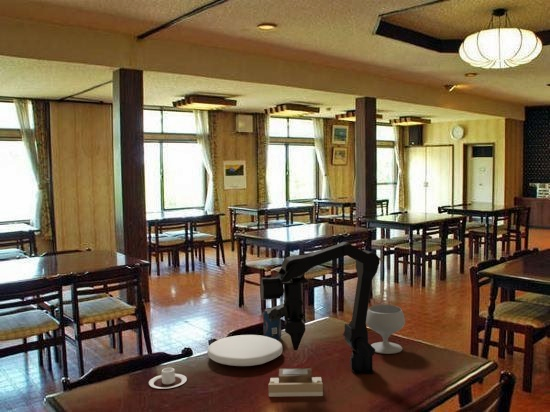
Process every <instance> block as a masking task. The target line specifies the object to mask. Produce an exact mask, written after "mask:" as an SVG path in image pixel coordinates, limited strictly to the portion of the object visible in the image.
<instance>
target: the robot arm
mask: <svg viewBox="0 0 550 412" xmlns="http://www.w3.org/2000/svg"><path fill="white" fill-rule="evenodd" d="M343 257H348V258H351V259H353V260H355V270H356V275H357V281H356V288H355V295H354V302H353V310H352V316H351V317H352V318H351V321H349V323H345V324H344V331H343V333H342V336H343V337H344V341H345V343H346V344H347V345H348V346H349V347H350V349H352V350H351V352H352V353H351V354H352V355H350V369H351V371H352V372H353V374H354V375H359V374H360V375H362V374H366V375H367V374H369V375H370V374H372V375H373V374H374V373H375V371H374V369H373V365H374V364H373V356H375V353H376V352H375V349H374V348H373V347H372V346H371V344H370V343H369V331H368V325H367V324H366V318H367V311H368V309H369V304H370V295H371V289H372V283H373V280H374V277H375V276H376V275H377V273H378V270H379V267H380V262H381V261H380V258H379V256H378V254H376V253H374V252H372V251H370V250H365V249H361V248H358V247H356V246H354V245H353V244H351V243H349V242H347V241H342V242H340V243H338V244H335V245H332V246H329V247H326V248H323V249H319V250H317V251H315V252H311V253H307V254H300V255H299V254H298V255H292V256H290V255H289V256H287V257H284V259H283V260H282V263H281V268H280V269H279V270H278V272H277V274H276V275H275V277H261V281H260V287H259V293H260V294H259V295H260V299H261V300H262V301H266V300H267V301H268V300H275V299H276V300H278V299H281V297H283V296H284V298H283V303H281V304H278V305H276V306H273V307H269V308H270V309H268V310H267V314H268V317H269V319H270V321H271V322H274V321H275V320H277V319H280V318H281V319H282V318H283V319H284V332H285V333H286V334H288V335H289V336H290V339H291V344H292V348H293V351H298V350H299V346H300V345H301V342H302V339H303V337H304V334H305V332H306V323H305V320H304V300H303V284H308V283H309V280H308V279H307V278H306V277H305V276H304V274H306V273H307V272H309V271H310V270H311V269H312V268H315V267H317V266H320V265H323V264H326V263H329V262H331V261H334V260H338V259H340V258H343Z"/></svg>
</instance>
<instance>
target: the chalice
mask: <svg viewBox="0 0 550 412" xmlns="http://www.w3.org/2000/svg"><path fill="white" fill-rule="evenodd" d="M405 324H406V318H405V314H404V311H403V310H402V308H401V307H400V306H396V305H392V304H374V305H372V306H369V307H368V311H367V318H366V326H367V328H369V329H370V330H371V331H374V332H376V333H377V334H379V335H380V336H381V338H382V341H379V342H374V343H372V344H370V345H371V346H372V347H373V348H374V349H375V353H378V354H383V355H387V354H388V355H391V354H397V353H401V352H402V351H403V349H404V348H403V347H402V346H401V344H398V343H395V342H391V341H389V337H390V336H391V335H394V334H395V333H397V332H399V331H401V330H402V329H403V328H404V326H405Z"/></svg>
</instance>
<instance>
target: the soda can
mask: <svg viewBox="0 0 550 412" xmlns="http://www.w3.org/2000/svg"><path fill="white" fill-rule="evenodd" d="M270 308H271V307H267V308H266V307H265V308H264V311H263V313H262V323H263V325H262V326H263V336H266V337H270V338H273V339H276V340H277V341H280V340H281V338H282V318H280V319H277V320H275V321H274V322H271V321H270V319H269V317H268V314H267V310H268V309H270Z"/></svg>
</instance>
